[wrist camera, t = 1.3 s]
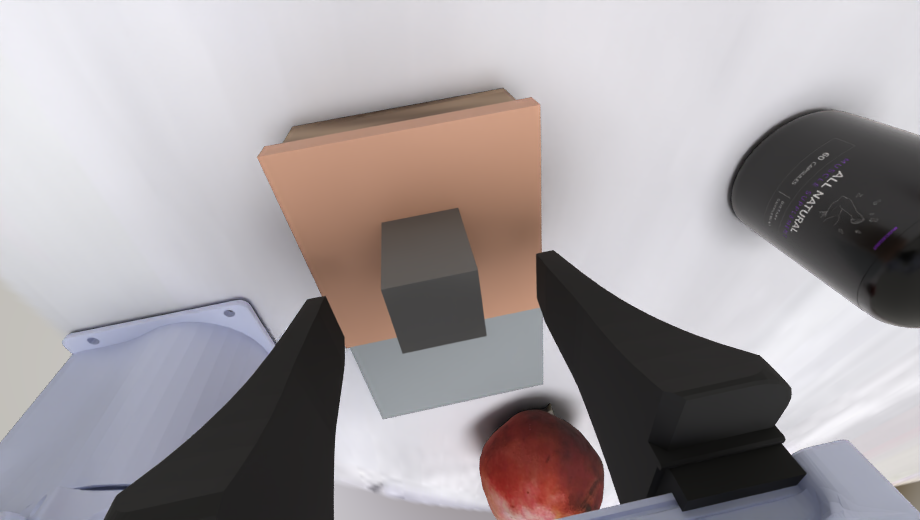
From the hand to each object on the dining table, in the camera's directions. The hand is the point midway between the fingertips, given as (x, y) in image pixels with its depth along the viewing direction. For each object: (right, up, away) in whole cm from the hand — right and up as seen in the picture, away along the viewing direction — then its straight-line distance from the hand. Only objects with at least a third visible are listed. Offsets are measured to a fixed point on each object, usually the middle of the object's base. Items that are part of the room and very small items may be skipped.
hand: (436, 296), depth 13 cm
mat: (0, -5, +12) cm, 13 cm away
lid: (-1, +2, +3) cm, 4 cm away
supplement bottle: (+19, +6, +8) cm, 21 cm away
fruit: (+6, -12, +20) cm, 24 cm away
